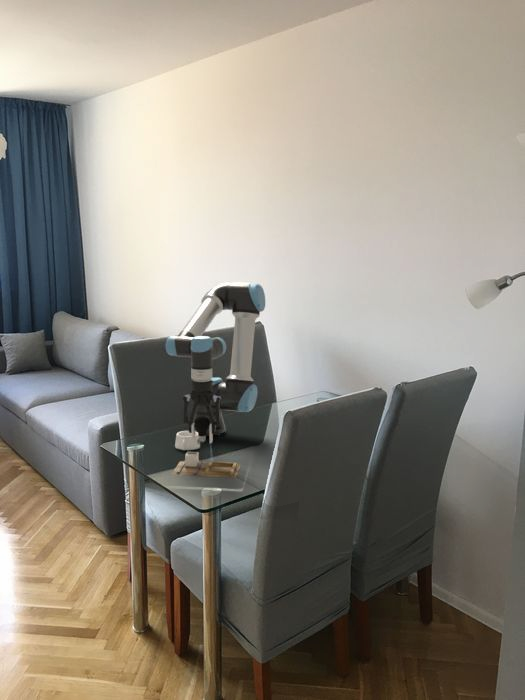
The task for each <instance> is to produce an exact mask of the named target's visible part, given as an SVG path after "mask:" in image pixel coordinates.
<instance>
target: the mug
mask: <svg viewBox="0 0 525 700" xmlns="http://www.w3.org/2000/svg"><path fill="white" fill-rule="evenodd" d="M175 435H176V436H175V442H174V443H175V444H174V447H175V449H177V450H181V451H193V450H198V449H201V441H199V435H198V432H195V441H194V442H192V433H189V430H182V431H178V432H177V433H176V434H175Z"/></svg>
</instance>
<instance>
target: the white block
mask: <svg viewBox="0 0 525 700" xmlns="http://www.w3.org/2000/svg"><path fill="white" fill-rule="evenodd" d="M199 455H200V454H199V452H198V451H187V452H186V453H185V455H184V458H185V459H184V461H185V466H189V467H197V465H198V463H199V462H200V461H199Z"/></svg>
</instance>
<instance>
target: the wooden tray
mask: <svg viewBox="0 0 525 700" xmlns="http://www.w3.org/2000/svg"><path fill="white" fill-rule="evenodd" d="M240 468H241V463H238V462H235V461H234V462H232V461H209V462H205V461H199V463H198V465H197V467H189V466H185V460H183V461H182V460H180V461H179V462H178V463H177V465H176V466H175V468H174V470H173V471H172V472H171V474H170V475H171V476H172V475H174V476H193V477H194V476H195V477H213V478H218V477H219V478H237V476H238V473H239V470H240Z"/></svg>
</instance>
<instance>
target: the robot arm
mask: <svg viewBox="0 0 525 700" xmlns="http://www.w3.org/2000/svg"><path fill="white" fill-rule="evenodd" d="M200 302H201V303H200V305H199V306H198V308H197V309H196V310H195V312H194V314H193V315H192V316H191V317H190V319H189V320H188V321H187V323H186V324H185V325H184V326H183V328H182V330H181V331H180V332H179V334H177V336H176V335H172V336H168V337H167V338H166V342H165V351H166V353H167V354H168V355H169V356H173V357H174V356H175V357H177V358H178V357H180V358H181V357H182V358H190V361H191V362H190V364H191V365H190V366H191V367H190V370H191V371H190V373H191V375H190V376H191V377H190V378H191V383H190V385H191V386H190V387H191V388H190V389H191V392H190V393H189V394H184V396H182V400H183V403H184V405H183V423H185V424H187V425H188V431H189V433H192V442H194V441H195V432H198V431H197V430H196V428H195V426H194V421H195V419H196V418H197V417H199V416H206V417H208V419H209V420H210V426H209V429H208V430H207V433H206V436H209V444H213V440H214V439H213V437H214V436H213V435H218V434H221V433H223V432H224V431H225V432H226V425H225V421H224V418H223V416H222V415H223V413H222V411H230V412H238V413H249V412H250V411H252V410H253V408H254V407H255V405H256V402H257V399H258V393H259V392H258V387H257V385H256V384H254V379H253V378H252V376H251V375H252V373H251V372H252V363H253V352H254V351H253V350H254V339H255V330H256V329H255V328H256V321H257V318H259V317H260V312H264V311H265V308H266V294H265V291H264V288H263V286H262V285H261V284H260V283H253V282H230V281H229V282H227V281H226V282H222V283H220V284H217V285H215V286H214V287H213V288H211V289H209V290H208V291H207V292H206V293H205V294H204V296H203V297H202V298H201V301H200ZM225 310H226V311H227V310H229V311H231V315H232V316H233V317H234V319H235V320H234V330H233V339H232V349H231V350H232V351H231V363H230V371H229V375H228V376H226V378H225V381H223V379H222V378H221V377H213V360H215V359H218V358H221V357H222V356H223V355H224V354H225V353H226V352H227V351H226V350H227V344H226V341H225V340H224V339H223V338H222V337H218V336H217V337H210V336H207V335H203V334H204V333H205V332H206V330H207V329H208V327H209V325H210V324H211V323H212V322H213V320H214V318H215V317H216V316H217V315H219V314H221V313H222V312H223V311H225ZM190 400H192V401H193V407H192V409H191V413H190V417H189V412H190V411H189V410H190V409H189V408H190V407H189V405H190ZM218 436H219V435H218Z"/></svg>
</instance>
